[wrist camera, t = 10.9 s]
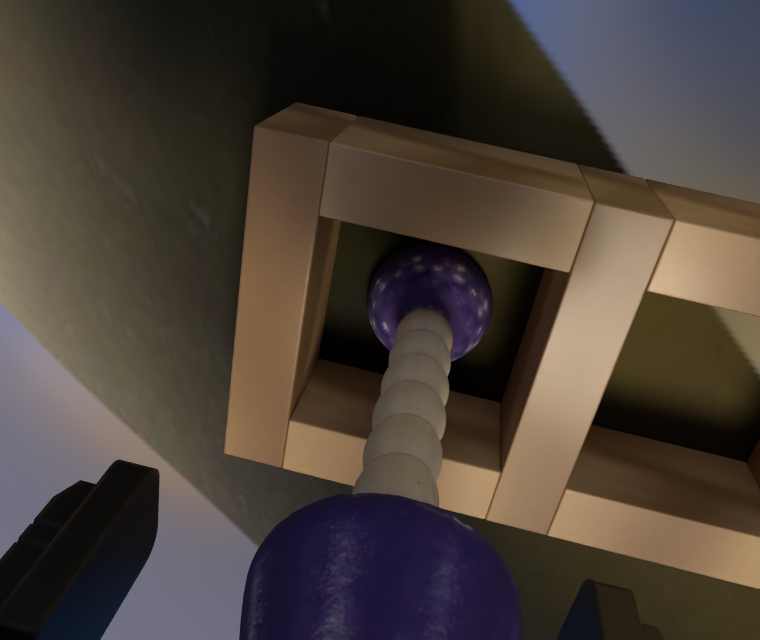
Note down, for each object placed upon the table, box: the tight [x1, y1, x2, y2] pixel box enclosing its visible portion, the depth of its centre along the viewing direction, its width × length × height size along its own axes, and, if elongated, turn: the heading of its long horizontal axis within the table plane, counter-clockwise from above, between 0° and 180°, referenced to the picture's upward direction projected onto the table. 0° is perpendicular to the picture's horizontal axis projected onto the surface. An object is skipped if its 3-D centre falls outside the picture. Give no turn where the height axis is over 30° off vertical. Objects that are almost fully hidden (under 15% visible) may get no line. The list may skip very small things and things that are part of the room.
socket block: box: [224, 102, 760, 589], centre depth 21 cm, size 20×11×4 cm, turn 79°
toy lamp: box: [239, 245, 522, 640], centre depth 15 cm, size 5×5×17 cm
